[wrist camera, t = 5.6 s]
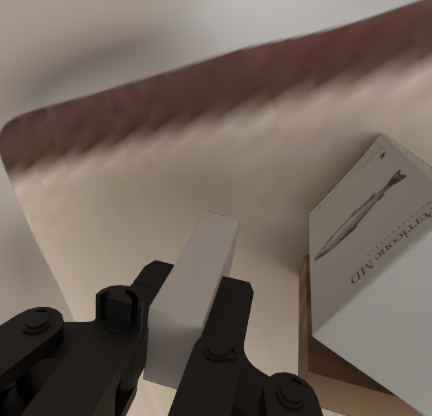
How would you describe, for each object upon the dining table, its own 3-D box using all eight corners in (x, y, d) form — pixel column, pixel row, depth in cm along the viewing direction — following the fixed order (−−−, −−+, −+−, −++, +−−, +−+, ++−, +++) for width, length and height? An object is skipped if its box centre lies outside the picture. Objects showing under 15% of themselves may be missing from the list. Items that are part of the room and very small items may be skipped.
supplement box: (381, 128, 22) (465, 199, 11) (473, 198, 23) (649, 338, 11) (303, 213, 25) (305, 337, 14) (385, 273, 26) (452, 442, 14)
